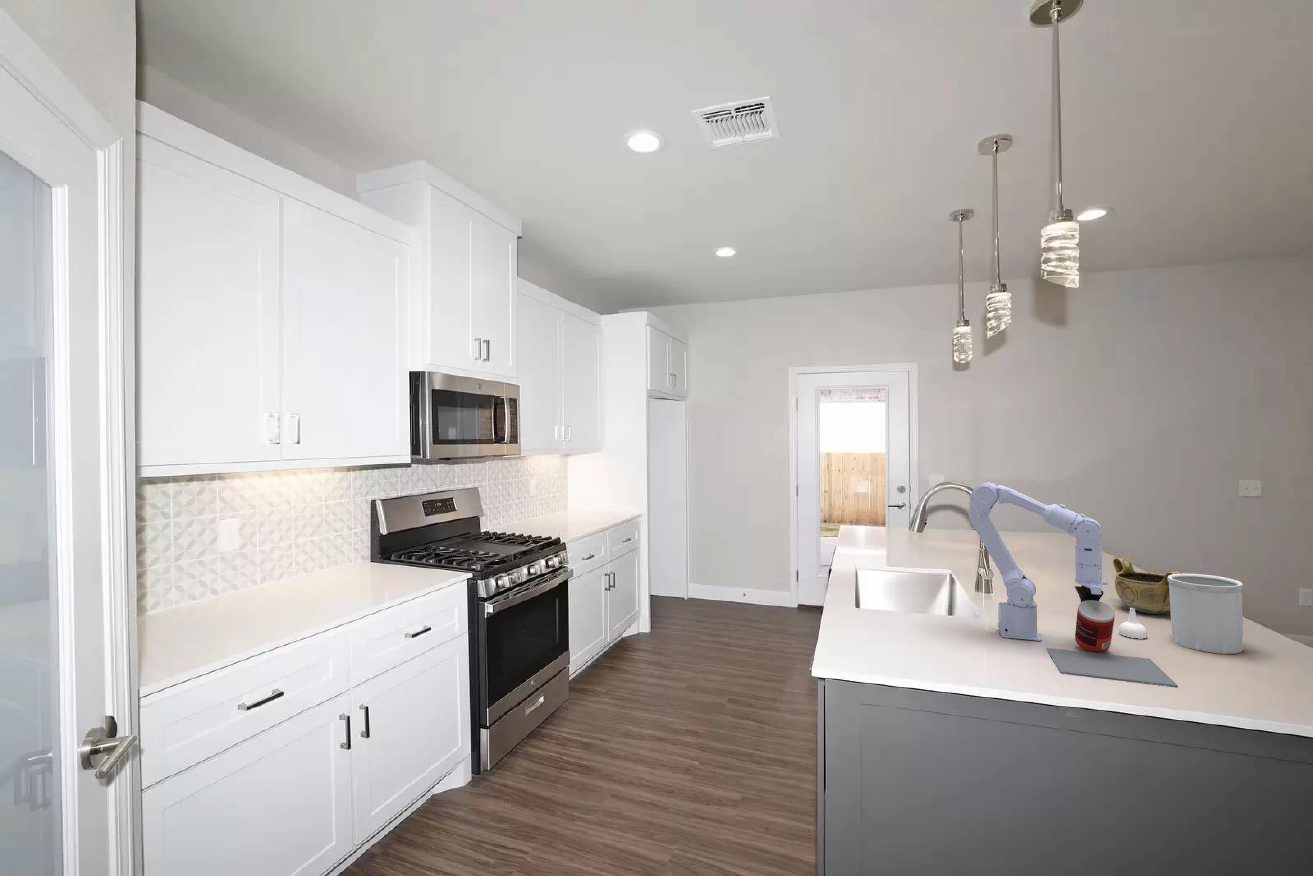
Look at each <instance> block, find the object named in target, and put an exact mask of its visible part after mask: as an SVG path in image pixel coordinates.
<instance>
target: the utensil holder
mask: <svg viewBox="0 0 1313 876" xmlns="http://www.w3.org/2000/svg"><path fill="white" fill-rule="evenodd" d="M1168 582H1169V593H1170V611H1169V612H1170V623H1171V637H1172V641H1173V642H1174V641H1175V642H1176V643H1175V642H1174V643H1175V644H1177V643H1178V644H1177V645H1179V644H1180V645H1179V646H1181V645H1182V646H1181V647H1184V646H1186V647H1185V648H1187V647H1189V648H1188V649H1191V648H1192V649H1191V650H1196V651H1200V650H1201V651H1200V652H1206V653H1212V654H1223V655H1224V654H1225V655H1227V654H1228V655H1231V654H1239V653H1241V652H1242V651H1243V645H1244V644H1243V638H1244V637H1243V636H1244V632H1243V631H1244V626H1243V625H1244V624H1243V593H1242V592H1243V590H1244V584H1243V583H1242V582H1241V581H1240V580H1236V579H1233V578H1229V577H1223V576H1219V575H1210V574H1202V573H1201V574H1200V573H1183V574H1172V575H1169V576H1168Z"/></svg>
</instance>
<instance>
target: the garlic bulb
mask: <svg viewBox="0 0 1313 876" xmlns="http://www.w3.org/2000/svg"><path fill="white" fill-rule="evenodd" d="M1128 613H1129V614H1128V619H1127V621H1124V622H1121V623H1120V625H1119V626H1118V633H1119V634H1120V635H1121V636H1122V635H1123V636H1122V637H1124V636H1128V637H1131V638H1130V639H1132V638H1138V639H1137V640H1144V639H1143V638H1145V639H1147V637H1148V630H1147V628H1146V627H1145V626H1144V625H1143V624H1141V623H1139V621H1138V618H1137V614H1136V610H1135V609H1133V608H1130V607H1129V612H1128ZM1128 637H1127V638H1128Z"/></svg>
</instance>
